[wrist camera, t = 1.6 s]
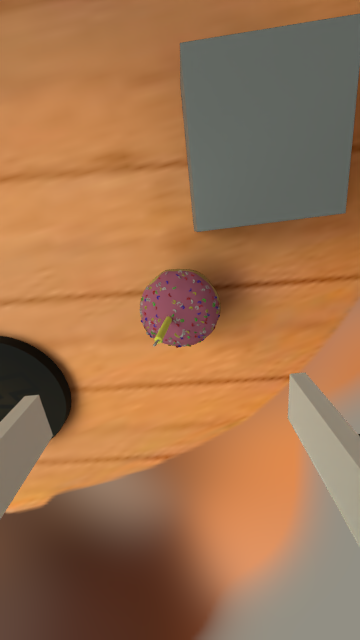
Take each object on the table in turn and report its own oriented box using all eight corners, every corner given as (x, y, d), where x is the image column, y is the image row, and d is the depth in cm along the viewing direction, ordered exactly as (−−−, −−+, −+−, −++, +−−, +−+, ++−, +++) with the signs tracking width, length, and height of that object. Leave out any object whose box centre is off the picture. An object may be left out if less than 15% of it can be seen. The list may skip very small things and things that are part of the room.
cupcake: (159, 338, 33) (148, 395, 22) (134, 276, 30) (106, 305, 19) (223, 317, 32) (246, 367, 21) (203, 252, 29) (216, 267, 18)
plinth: (180, 86, 24) (180, 42, 18) (320, 65, 23) (364, 12, 18) (194, 231, 28) (197, 231, 23) (312, 216, 28) (345, 213, 22)
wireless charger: (-77, 391, 36) (-91, 400, 35) (-15, 307, 32) (-27, 312, 30) (28, 457, 41) (21, 468, 39) (96, 390, 36) (92, 399, 34)
